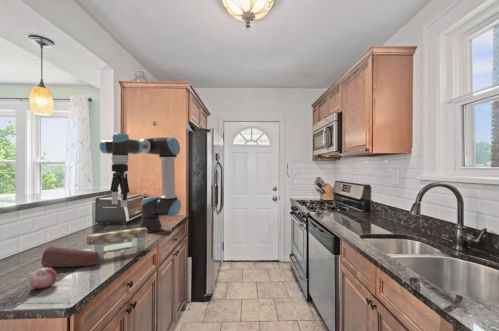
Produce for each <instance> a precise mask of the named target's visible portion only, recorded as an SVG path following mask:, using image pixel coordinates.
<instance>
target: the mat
mask: <svg viewBox="0 0 499 331" xmlns="http://www.w3.org/2000/svg"><path fill="white" fill-rule="evenodd" d="M125 249H132V241H128V242H122V243H115V244H110V245H109V244H108V245H104V253H108V252H114V251H118V250H119V251H120V250H125ZM83 250H85V251H90V248H86V249H83Z"/></svg>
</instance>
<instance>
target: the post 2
mask: <svg viewBox="0 0 499 331" xmlns="http://www.w3.org/2000/svg"><path fill="white" fill-rule="evenodd" d="M145 239H146V236H145V232H141V233H137V238H132V239H131V242H132V247H131V250H133V251H135V252H137V253H139V252H143V251H146V250H145V249H146V244H145V243H146V242H145V241H146V240H145Z"/></svg>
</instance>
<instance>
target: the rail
mask: <svg viewBox="0 0 499 331" xmlns="http://www.w3.org/2000/svg"><path fill="white" fill-rule="evenodd" d="M141 232H145V237H148V232H147V228H145V227H143V228H139V227H138V228H131V229H122V230H121V229H120V230H115V231H108V232H100V233H93V234H86V245H89V246H90V245H94V239H100V238H104V244H105V243H111V242H118V241H124V240H132V238H137V233H141Z"/></svg>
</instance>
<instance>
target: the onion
mask: <svg viewBox="0 0 499 331" xmlns="http://www.w3.org/2000/svg"><path fill="white" fill-rule="evenodd" d="M57 278H58V275H57V272H56V270H55V269H54V268H50V267H42V268H39V269H37V270H35V271H34V272H33V273H32V274H31V275H30V279H29V284H30V286H31V287H32V288H33V289H37V290H40V289H42V290H44V289H48V288H50V287H51V286H52V285H54V284H55V282H56V281H57ZM49 286H50V287H49ZM47 287H48V288H47Z"/></svg>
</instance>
